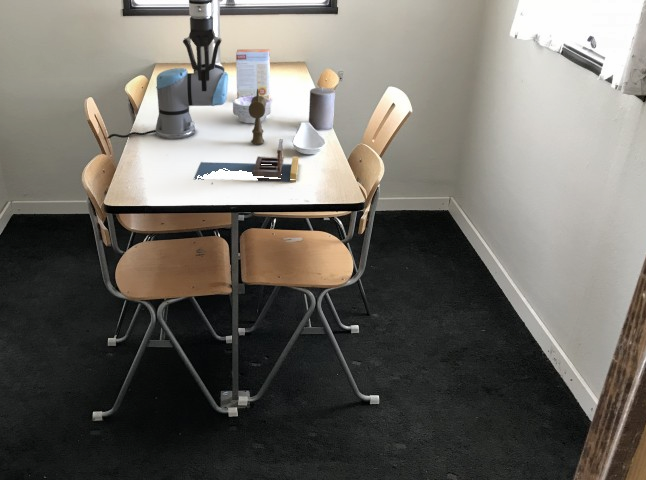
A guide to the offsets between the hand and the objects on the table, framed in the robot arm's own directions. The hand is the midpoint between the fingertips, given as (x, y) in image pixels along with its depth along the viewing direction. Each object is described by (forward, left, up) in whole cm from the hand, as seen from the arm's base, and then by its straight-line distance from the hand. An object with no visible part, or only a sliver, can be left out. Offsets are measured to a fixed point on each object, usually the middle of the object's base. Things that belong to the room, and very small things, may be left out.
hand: (204, 90), depth 244 cm
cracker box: (+10, +68, -23) cm, 72 cm away
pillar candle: (+40, +34, -23) cm, 57 cm away
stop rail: (+32, -18, -22) cm, 43 cm away
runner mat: (+16, -18, -22) cm, 33 cm away
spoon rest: (+35, +9, -23) cm, 43 cm away
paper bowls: (+12, +40, -23) cm, 47 cm away
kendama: (+17, +12, -23) cm, 31 cm away
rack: (+24, -18, -22) cm, 37 cm away
